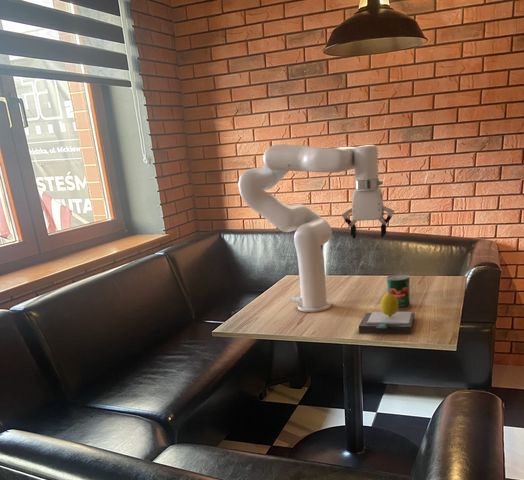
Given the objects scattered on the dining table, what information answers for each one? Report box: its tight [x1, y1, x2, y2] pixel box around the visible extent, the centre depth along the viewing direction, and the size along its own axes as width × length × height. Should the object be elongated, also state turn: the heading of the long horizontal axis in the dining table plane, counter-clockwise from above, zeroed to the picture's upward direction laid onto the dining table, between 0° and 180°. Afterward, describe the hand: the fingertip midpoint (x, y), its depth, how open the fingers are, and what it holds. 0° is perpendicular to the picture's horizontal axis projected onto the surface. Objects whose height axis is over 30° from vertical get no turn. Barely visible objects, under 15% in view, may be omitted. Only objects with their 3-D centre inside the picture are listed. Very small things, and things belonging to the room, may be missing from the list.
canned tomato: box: [386, 273, 411, 311], centre depth 191 cm, size 8×8×11 cm
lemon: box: [380, 293, 399, 317], centre depth 172 cm, size 6×6×8 cm
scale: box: [358, 311, 416, 335], centre depth 173 cm, size 16×16×3 cm
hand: (368, 237), depth 182 cm, fingers open, 9 cm apart
